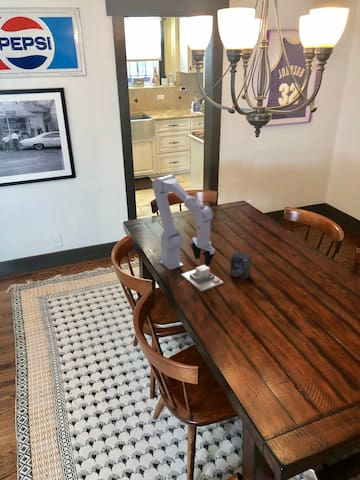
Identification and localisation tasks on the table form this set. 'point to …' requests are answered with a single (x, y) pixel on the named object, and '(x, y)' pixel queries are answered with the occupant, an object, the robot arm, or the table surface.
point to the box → (240, 265)
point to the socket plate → (202, 280)
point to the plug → (202, 271)
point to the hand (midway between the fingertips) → (202, 261)
